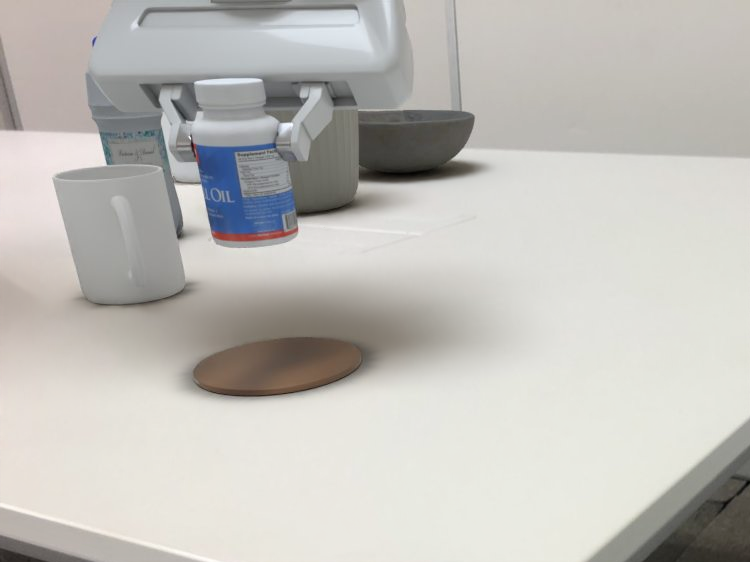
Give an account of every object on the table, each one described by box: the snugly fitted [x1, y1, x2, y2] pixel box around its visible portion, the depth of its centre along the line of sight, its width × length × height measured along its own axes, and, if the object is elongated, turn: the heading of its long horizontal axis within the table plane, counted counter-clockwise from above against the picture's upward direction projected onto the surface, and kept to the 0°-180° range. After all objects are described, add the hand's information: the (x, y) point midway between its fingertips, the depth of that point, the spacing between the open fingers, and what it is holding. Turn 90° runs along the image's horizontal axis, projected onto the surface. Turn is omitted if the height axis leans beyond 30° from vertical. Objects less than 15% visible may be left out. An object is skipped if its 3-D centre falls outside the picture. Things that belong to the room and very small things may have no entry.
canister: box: [264, 109, 360, 214], centre depth 118 cm, size 18×18×21 cm
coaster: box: [192, 336, 362, 397], centre depth 70 cm, size 11×11×1 cm
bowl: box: [358, 109, 476, 174], centre depth 144 cm, size 21×21×8 cm
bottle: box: [84, 35, 184, 237], centre depth 104 cm, size 7×7×20 cm
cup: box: [51, 165, 186, 305], centre depth 84 cm, size 8×12×10 cm
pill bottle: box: [191, 78, 299, 249], centre depth 64 cm, size 6×5×10 cm
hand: (238, 156), depth 63 cm, fingers closed on pill bottle, 5 cm apart
